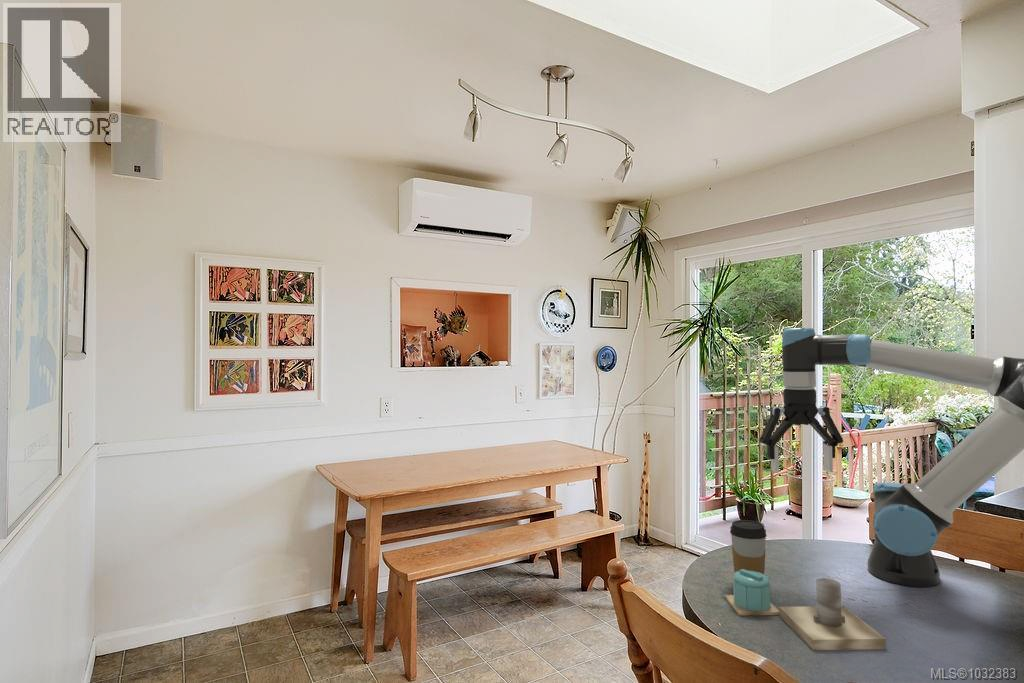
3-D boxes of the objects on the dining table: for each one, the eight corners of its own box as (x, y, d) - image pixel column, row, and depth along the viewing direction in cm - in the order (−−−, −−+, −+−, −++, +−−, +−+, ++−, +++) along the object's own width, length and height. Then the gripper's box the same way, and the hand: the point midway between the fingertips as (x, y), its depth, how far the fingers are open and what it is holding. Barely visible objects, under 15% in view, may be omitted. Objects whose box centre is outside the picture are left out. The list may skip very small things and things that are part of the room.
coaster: (762, 597, 133) (762, 594, 133) (780, 614, 124) (780, 612, 124) (724, 597, 133) (724, 595, 133) (739, 615, 124) (739, 612, 124)
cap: (776, 605, 127) (776, 575, 127) (755, 613, 123) (754, 582, 123) (748, 593, 133) (747, 564, 134) (727, 601, 130) (726, 571, 130)
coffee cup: (771, 593, 134) (770, 530, 135) (734, 591, 136) (733, 528, 136) (763, 579, 143) (762, 520, 143) (728, 577, 144) (727, 518, 144)
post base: (844, 615, 123) (842, 569, 123) (885, 649, 109) (884, 597, 109) (779, 616, 123) (778, 569, 124) (813, 650, 109) (811, 598, 110)
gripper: (839, 386, 149) (842, 467, 148) (744, 388, 149) (746, 469, 148) (857, 388, 141) (859, 473, 141) (756, 390, 141) (759, 475, 141)
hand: (801, 471), depth 145 cm, fingers open, 13 cm apart
